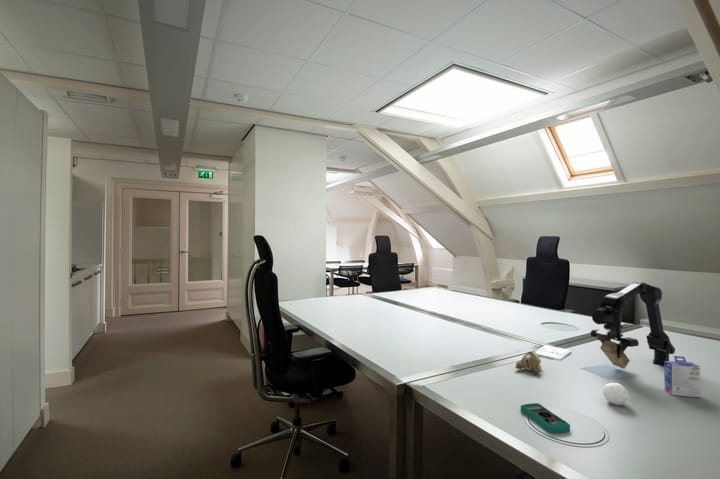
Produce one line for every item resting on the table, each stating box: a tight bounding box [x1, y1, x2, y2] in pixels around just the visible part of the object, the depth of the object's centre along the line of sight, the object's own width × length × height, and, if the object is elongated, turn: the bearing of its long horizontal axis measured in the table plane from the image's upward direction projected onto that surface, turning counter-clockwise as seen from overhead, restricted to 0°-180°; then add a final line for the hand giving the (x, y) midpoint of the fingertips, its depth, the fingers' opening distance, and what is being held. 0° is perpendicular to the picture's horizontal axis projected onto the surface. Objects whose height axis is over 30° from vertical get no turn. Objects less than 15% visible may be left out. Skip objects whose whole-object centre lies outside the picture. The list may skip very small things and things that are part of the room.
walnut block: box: [599, 340, 630, 370], centre depth 163 cm, size 5×5×13 cm
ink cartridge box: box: [663, 355, 701, 398], centre depth 140 cm, size 10×6×14 cm, turn 78°
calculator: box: [534, 344, 572, 361], centre depth 188 cm, size 13×20×2 cm, turn 134°
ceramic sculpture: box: [515, 350, 542, 374], centre depth 164 cm, size 11×9×15 cm
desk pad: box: [580, 363, 638, 381], centre depth 162 cm, size 18×14×1 cm
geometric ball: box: [602, 382, 630, 406], centre depth 131 cm, size 8×8×8 cm
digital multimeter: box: [520, 402, 571, 434], centre depth 118 cm, size 8×15×3 cm, turn 12°
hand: (613, 356), depth 163 cm, fingers closed on walnut block, 5 cm apart
